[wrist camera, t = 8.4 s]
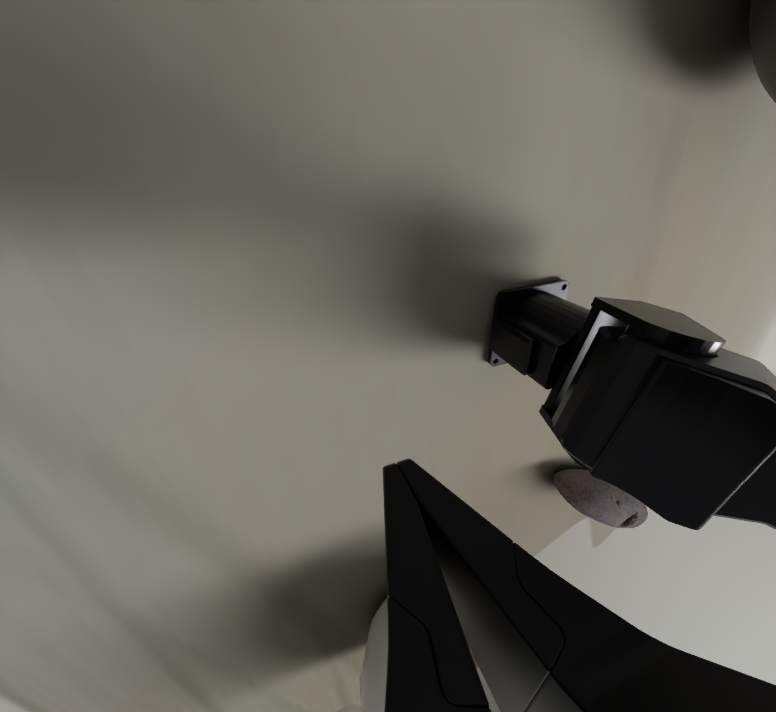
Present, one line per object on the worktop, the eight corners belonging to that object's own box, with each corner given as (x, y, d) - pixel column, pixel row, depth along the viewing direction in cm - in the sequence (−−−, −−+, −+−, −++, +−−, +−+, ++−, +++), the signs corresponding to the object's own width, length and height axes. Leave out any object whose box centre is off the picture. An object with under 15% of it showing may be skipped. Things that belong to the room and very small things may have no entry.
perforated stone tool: (532, 481, 40) (577, 532, 34) (560, 451, 38) (611, 498, 33) (587, 494, 48) (631, 537, 42) (611, 469, 46) (660, 510, 41)
